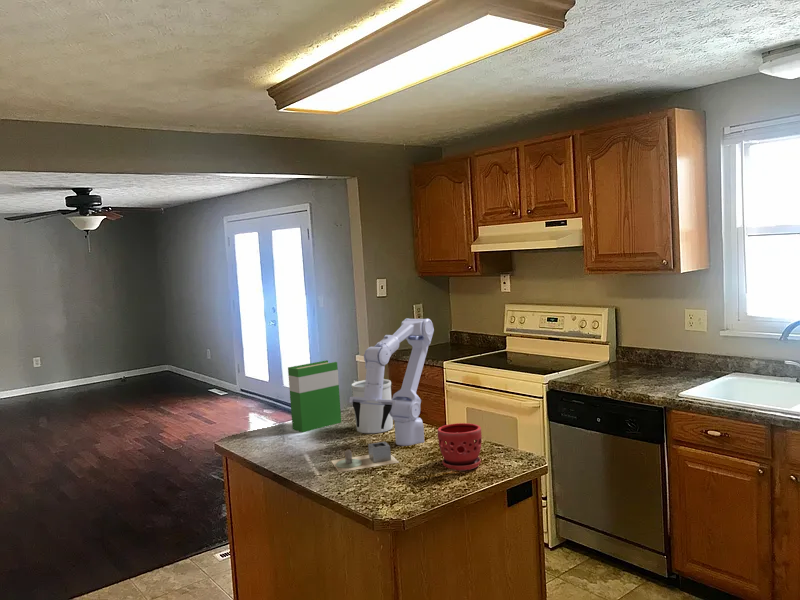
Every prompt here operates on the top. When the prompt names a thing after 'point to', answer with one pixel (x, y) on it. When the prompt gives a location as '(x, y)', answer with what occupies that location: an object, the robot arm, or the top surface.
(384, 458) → the steel collar
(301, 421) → the hardback book
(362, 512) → the top surface
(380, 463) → the board
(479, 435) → the plant pot
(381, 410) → the utensil holder
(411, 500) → the top surface
